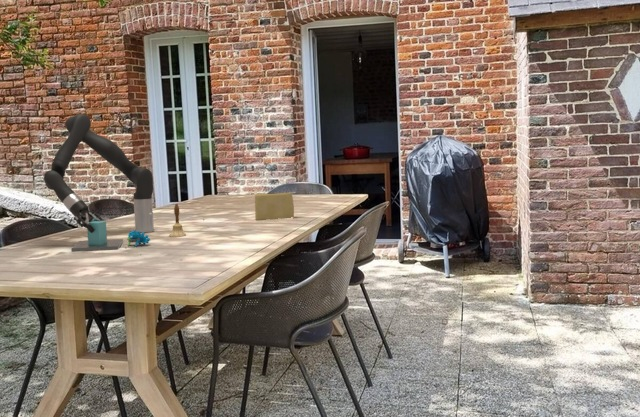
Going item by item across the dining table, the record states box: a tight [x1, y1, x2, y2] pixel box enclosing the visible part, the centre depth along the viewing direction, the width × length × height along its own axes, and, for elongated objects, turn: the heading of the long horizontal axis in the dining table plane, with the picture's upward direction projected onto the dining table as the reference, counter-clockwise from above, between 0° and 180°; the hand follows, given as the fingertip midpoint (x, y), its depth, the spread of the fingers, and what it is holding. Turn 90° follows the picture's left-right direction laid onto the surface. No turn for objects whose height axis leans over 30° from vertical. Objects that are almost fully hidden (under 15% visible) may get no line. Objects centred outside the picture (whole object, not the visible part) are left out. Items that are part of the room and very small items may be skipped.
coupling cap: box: [86, 220, 108, 245], centre depth 323 cm, size 6×6×10 cm
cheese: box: [254, 192, 295, 221], centre depth 405 cm, size 22×10×15 cm, turn 93°
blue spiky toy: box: [126, 229, 151, 247], centre depth 324 cm, size 11×6×10 cm
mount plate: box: [70, 238, 124, 252], centre depth 323 cm, size 20×20×9 cm
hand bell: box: [169, 203, 187, 238], centre depth 351 cm, size 8×8×16 cm
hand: (98, 230), depth 323 cm, fingers open, 8 cm apart
